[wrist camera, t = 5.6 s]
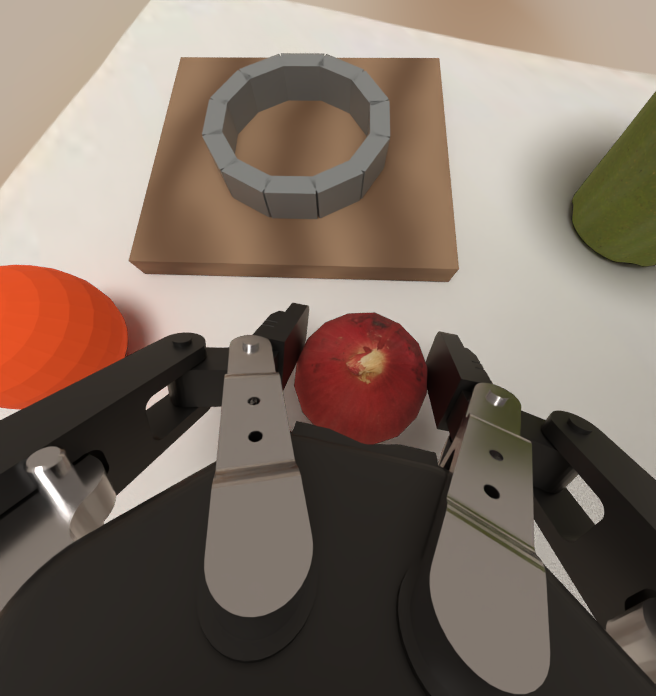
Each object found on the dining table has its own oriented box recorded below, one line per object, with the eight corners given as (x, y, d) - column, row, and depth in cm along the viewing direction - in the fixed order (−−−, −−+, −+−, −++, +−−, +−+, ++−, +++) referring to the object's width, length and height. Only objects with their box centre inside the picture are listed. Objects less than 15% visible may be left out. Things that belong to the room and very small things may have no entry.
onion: (331, 324, 17) (329, 244, 9) (417, 364, 16) (495, 313, 8) (287, 410, 16) (242, 401, 8) (379, 457, 15) (429, 498, 7)
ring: (382, 89, 20) (388, 53, 18) (385, 220, 17) (391, 194, 15) (229, 88, 20) (218, 53, 18) (205, 216, 17) (189, 191, 15)
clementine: (71, 452, 15) (-142, 479, 8) (5, 373, 17) (-227, 339, 10) (178, 348, 17) (71, 298, 10) (110, 282, 18) (-27, 198, 11)
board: (432, 81, 22) (439, 58, 21) (448, 281, 18) (458, 269, 16) (190, 80, 23) (180, 57, 21) (145, 273, 18) (128, 260, 17)
